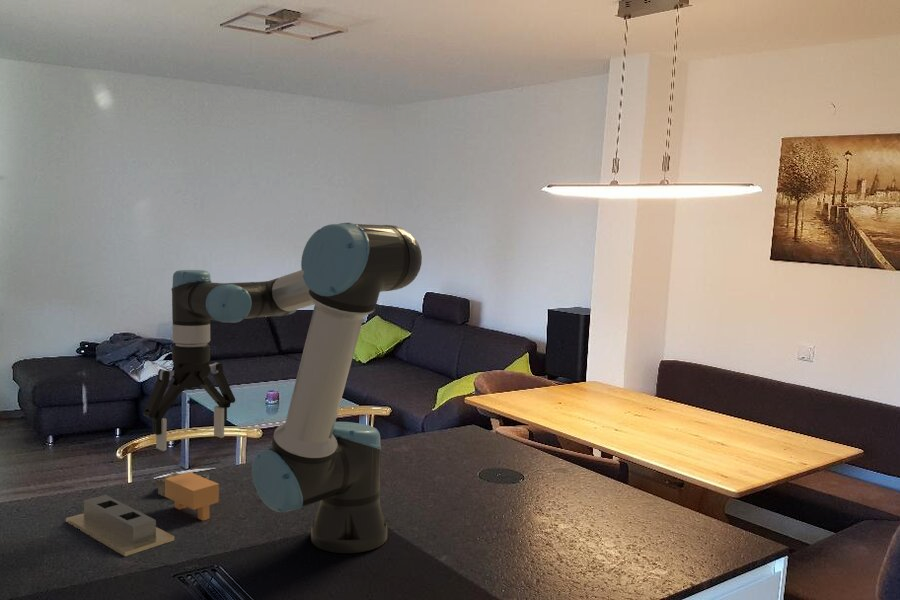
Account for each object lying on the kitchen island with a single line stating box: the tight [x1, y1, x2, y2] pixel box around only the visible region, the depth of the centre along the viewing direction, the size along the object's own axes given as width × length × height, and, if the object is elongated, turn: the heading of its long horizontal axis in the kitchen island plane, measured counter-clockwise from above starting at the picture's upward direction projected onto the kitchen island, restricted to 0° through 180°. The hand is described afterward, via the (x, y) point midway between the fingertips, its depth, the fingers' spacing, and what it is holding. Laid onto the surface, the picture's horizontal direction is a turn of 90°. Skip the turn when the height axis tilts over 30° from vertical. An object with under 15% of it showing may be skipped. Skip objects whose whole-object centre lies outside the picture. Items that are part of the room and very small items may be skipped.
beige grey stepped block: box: [65, 494, 175, 557], centre depth 149 cm, size 24×10×4 cm, turn 51°
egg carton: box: [155, 472, 210, 497], centre depth 172 cm, size 11×8×4 cm
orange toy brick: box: [164, 471, 220, 521], centre depth 159 cm, size 11×6×7 cm, turn 51°
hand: (191, 442), depth 158 cm, fingers open, 13 cm apart
